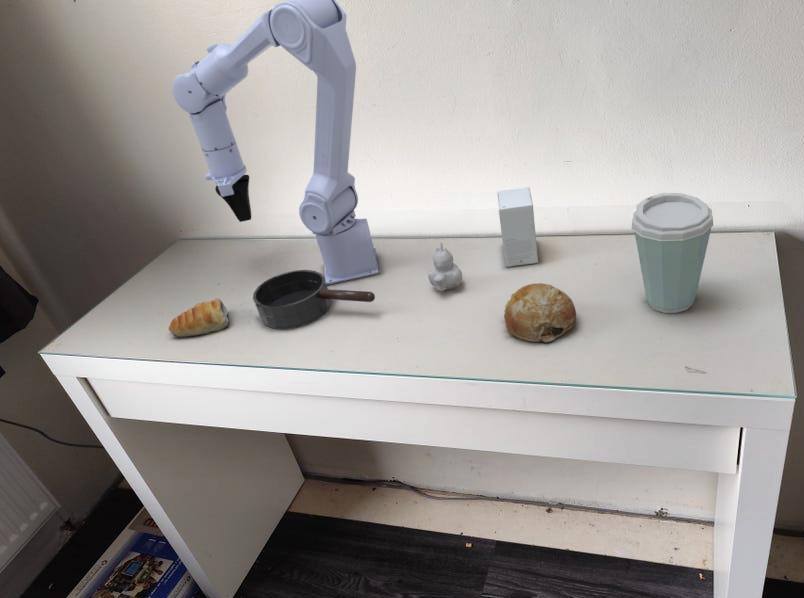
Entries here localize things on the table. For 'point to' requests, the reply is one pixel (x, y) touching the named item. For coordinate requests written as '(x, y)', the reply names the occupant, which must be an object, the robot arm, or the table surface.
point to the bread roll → (539, 313)
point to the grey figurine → (444, 270)
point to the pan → (291, 299)
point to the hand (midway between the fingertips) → (245, 219)
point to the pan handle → (346, 295)
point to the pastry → (200, 319)
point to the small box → (517, 226)
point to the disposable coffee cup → (671, 248)
